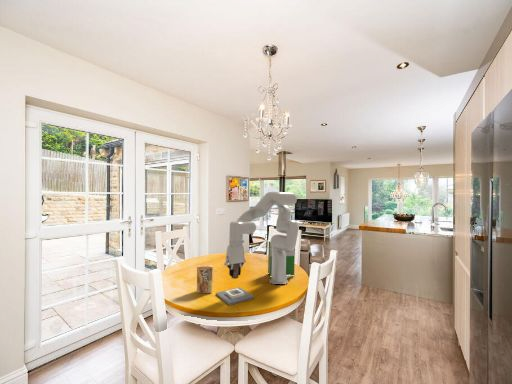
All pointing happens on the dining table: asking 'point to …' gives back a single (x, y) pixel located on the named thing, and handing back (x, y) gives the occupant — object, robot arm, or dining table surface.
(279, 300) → the dining table surface
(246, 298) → the board
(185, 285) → the dining table surface
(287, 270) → the hardback book
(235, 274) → the walnut pin
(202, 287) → the candy box
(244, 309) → the dining table surface
